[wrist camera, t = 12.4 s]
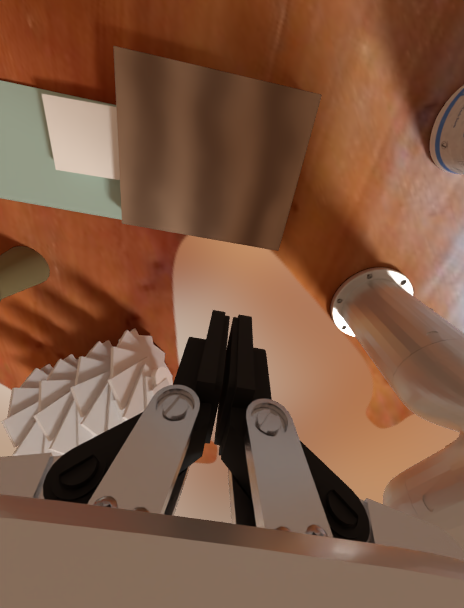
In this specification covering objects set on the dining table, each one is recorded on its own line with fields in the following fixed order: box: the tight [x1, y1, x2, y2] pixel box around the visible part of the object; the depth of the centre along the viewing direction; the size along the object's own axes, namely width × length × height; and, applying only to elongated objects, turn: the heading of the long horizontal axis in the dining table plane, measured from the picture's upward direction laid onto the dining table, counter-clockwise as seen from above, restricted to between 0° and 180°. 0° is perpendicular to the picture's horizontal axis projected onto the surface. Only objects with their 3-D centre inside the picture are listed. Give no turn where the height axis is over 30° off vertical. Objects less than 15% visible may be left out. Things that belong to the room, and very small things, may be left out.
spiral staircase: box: [2, 329, 173, 456], centre depth 40 cm, size 18×18×25 cm
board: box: [113, 46, 322, 251], centre depth 29 cm, size 20×16×4 cm
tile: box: [42, 94, 120, 180], centre depth 28 cm, size 8×7×2 cm
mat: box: [0, 80, 122, 220], centre depth 30 cm, size 18×12×1 cm
